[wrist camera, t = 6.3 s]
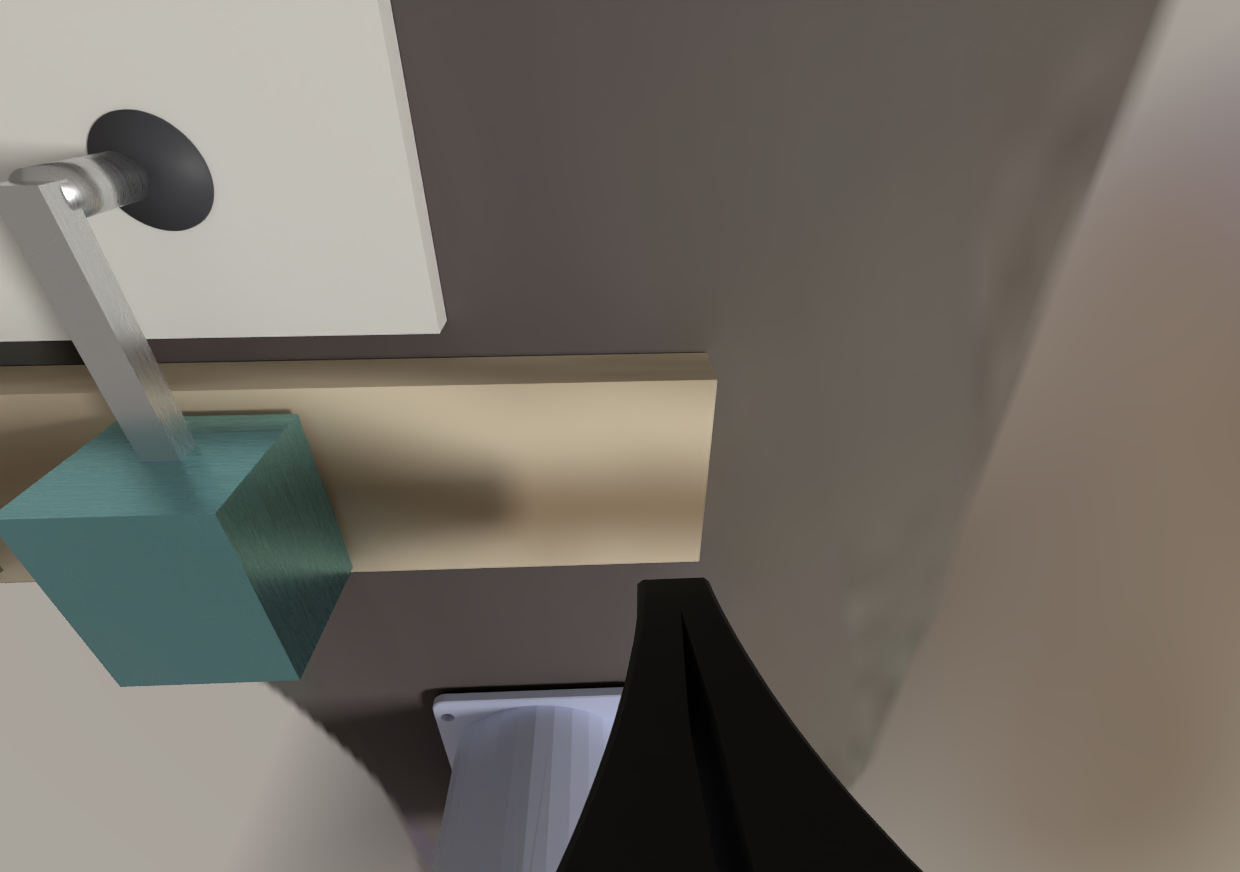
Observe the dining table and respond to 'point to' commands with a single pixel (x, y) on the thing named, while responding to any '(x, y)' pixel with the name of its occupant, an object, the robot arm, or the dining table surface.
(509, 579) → the dining table surface
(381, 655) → the dining table surface
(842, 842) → the robot arm
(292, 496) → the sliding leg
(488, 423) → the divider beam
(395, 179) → the bolt plate
